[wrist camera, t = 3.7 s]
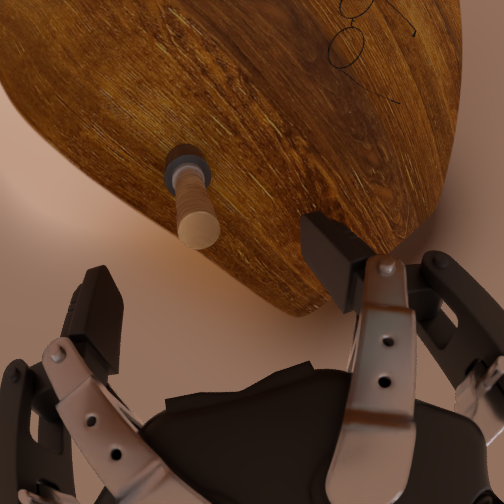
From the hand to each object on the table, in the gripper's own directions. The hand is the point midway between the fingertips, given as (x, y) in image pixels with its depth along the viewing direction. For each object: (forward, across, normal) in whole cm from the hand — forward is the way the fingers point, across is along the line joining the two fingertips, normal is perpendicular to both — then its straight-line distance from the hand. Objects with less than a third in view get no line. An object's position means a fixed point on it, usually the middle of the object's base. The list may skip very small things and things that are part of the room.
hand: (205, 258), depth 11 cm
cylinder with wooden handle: (+16, 0, 0) cm, 16 cm away
